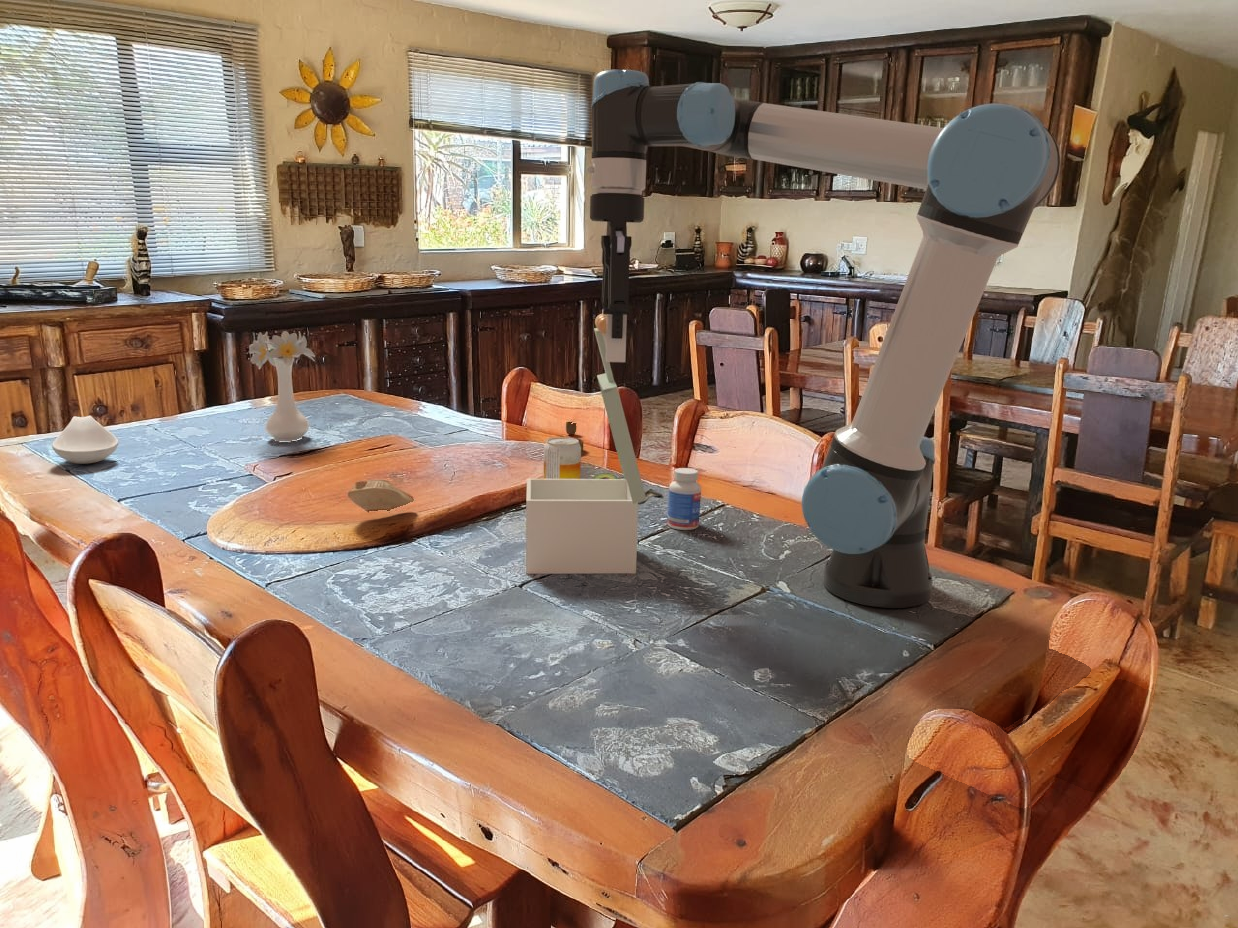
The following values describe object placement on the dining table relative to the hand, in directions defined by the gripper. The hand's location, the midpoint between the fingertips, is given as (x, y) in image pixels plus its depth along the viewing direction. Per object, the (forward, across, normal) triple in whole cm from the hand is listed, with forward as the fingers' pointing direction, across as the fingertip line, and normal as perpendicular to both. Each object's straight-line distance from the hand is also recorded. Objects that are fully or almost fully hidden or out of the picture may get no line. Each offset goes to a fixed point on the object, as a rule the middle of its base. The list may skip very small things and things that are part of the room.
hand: (612, 357), depth 132 cm
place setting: (+32, -66, -2) cm, 73 cm away
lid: (+20, 0, +4) cm, 20 cm away
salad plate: (+31, -35, +6) cm, 47 cm away
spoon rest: (+31, -66, -104) cm, 127 cm away
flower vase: (+31, -79, -67) cm, 108 cm away
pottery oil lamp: (+31, -22, -36) cm, 53 cm away
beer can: (+31, -15, -6) cm, 35 cm away
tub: (+31, 0, -4) cm, 31 cm away
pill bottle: (+31, -16, +14) cm, 38 cm away
